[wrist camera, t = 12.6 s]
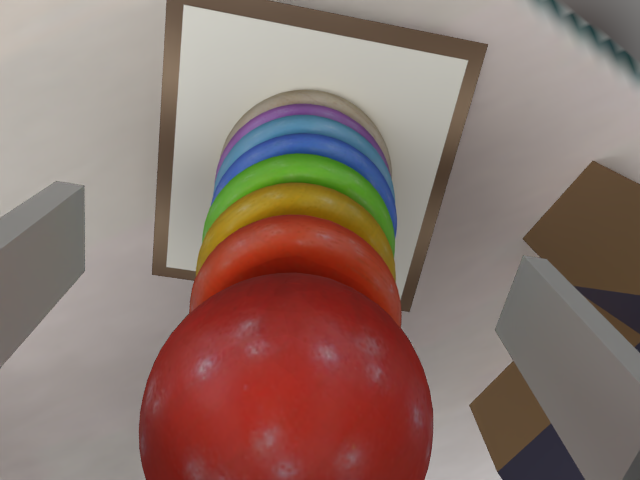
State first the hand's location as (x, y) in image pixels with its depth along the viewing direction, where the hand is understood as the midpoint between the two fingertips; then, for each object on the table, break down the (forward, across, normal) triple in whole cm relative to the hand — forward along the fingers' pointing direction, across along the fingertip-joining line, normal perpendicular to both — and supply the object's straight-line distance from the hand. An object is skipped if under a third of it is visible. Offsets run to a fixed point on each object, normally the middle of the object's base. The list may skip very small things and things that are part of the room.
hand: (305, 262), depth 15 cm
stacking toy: (+10, 0, 0) cm, 10 cm away
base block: (+16, 0, 0) cm, 16 cm away
